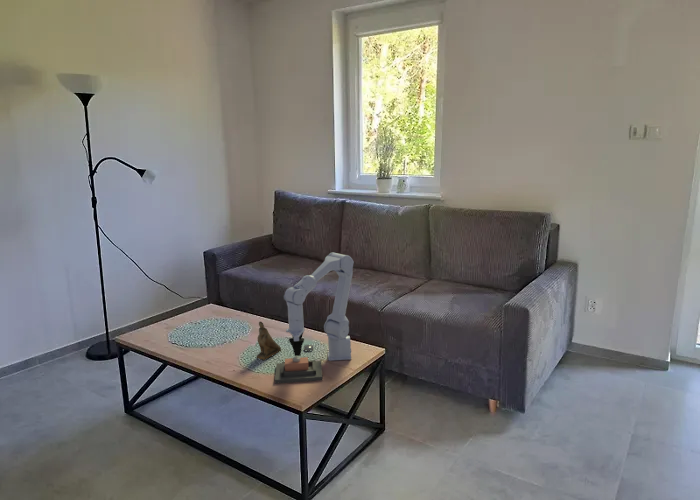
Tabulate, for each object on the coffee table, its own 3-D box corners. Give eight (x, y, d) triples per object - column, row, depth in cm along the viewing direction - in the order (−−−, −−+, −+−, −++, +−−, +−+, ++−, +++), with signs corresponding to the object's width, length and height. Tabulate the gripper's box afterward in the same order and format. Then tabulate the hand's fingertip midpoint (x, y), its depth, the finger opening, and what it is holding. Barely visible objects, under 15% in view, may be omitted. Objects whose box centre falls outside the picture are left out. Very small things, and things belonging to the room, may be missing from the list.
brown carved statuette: (264, 365, 209) (255, 329, 202) (255, 362, 212) (246, 326, 205) (283, 350, 218) (275, 315, 210) (274, 347, 221) (266, 312, 214)
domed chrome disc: (313, 347, 220) (313, 344, 219) (313, 351, 216) (313, 348, 216) (304, 348, 219) (303, 345, 219) (304, 352, 215) (304, 349, 215)
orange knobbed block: (285, 367, 198) (285, 356, 196) (308, 366, 198) (307, 354, 197) (285, 373, 193) (284, 361, 192) (308, 372, 193) (307, 360, 192)
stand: (321, 363, 203) (321, 357, 203) (322, 380, 190) (322, 373, 189) (277, 366, 202) (276, 360, 201) (274, 383, 188) (274, 376, 188)
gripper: (286, 312, 198) (288, 344, 201) (284, 326, 183) (286, 360, 187) (303, 311, 198) (305, 343, 201) (303, 324, 184) (305, 358, 187)
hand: (297, 351), depth 194 cm, fingers open, 7 cm apart
